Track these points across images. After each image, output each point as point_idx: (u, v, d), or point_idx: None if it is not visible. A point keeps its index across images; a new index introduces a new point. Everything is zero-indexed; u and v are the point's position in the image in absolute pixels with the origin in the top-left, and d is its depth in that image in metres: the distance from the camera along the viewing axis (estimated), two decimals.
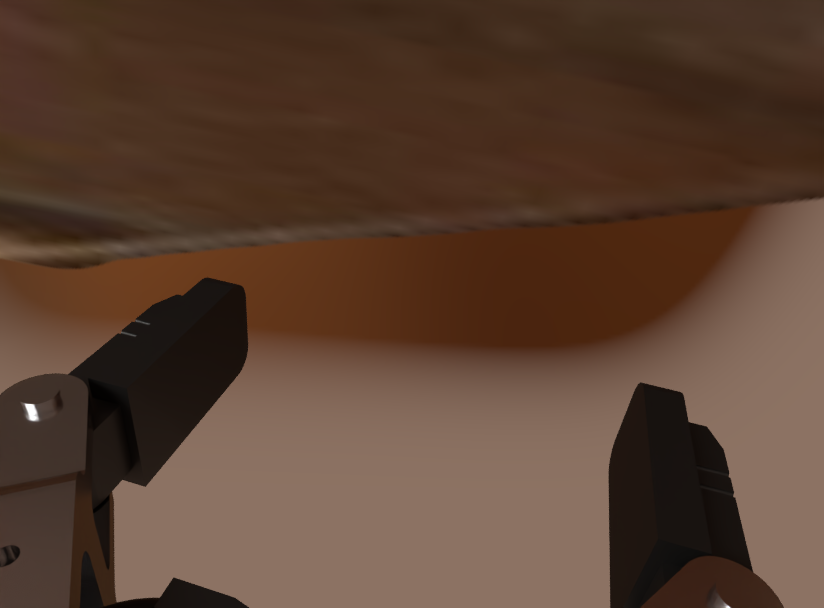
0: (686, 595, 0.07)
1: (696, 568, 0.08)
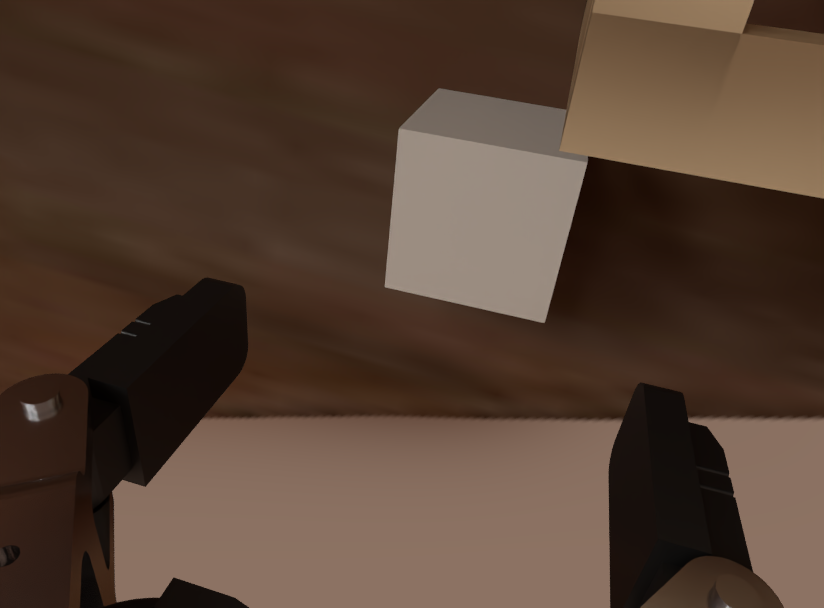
0: (686, 595, 0.07)
1: (696, 568, 0.08)
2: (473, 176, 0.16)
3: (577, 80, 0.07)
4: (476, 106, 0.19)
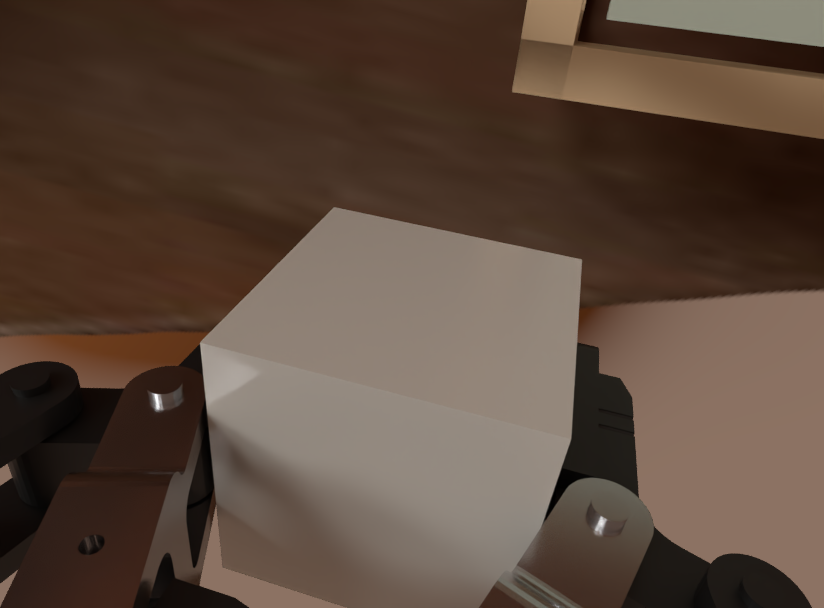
0: (565, 508, 0.08)
1: (573, 492, 0.08)
2: (350, 434, 0.08)
3: (517, 63, 0.19)
4: (383, 255, 0.11)
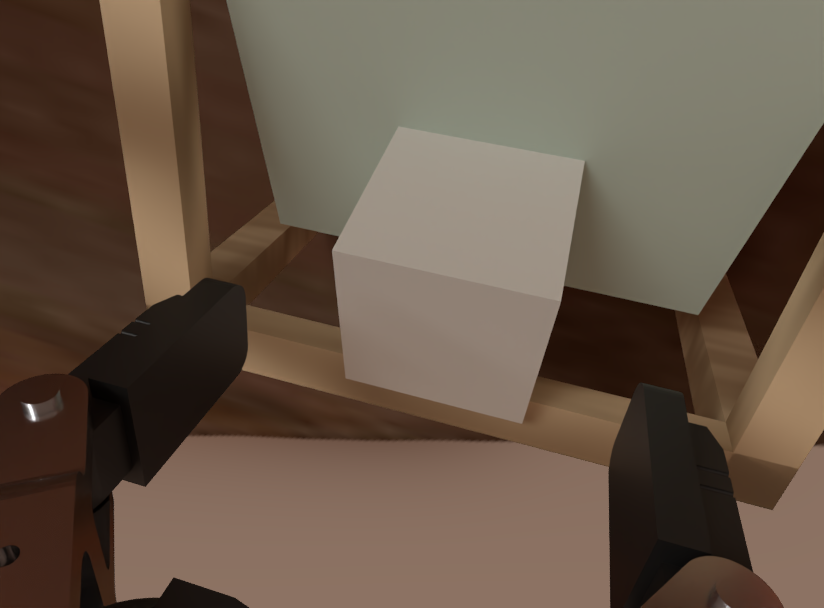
0: (686, 595, 0.07)
1: (696, 568, 0.08)
2: (427, 300, 0.14)
3: None
4: (439, 170, 0.15)
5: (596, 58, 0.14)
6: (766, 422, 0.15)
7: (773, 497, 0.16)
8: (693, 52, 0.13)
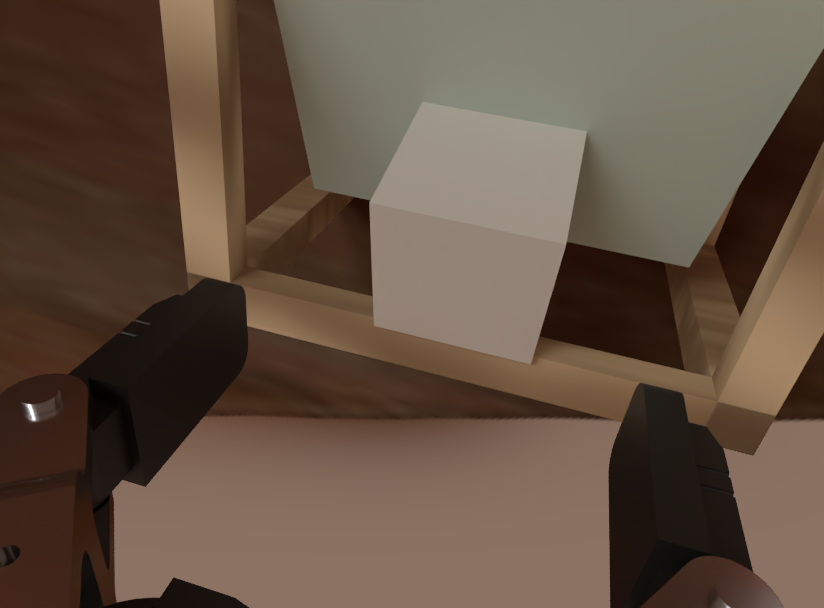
0: (686, 595, 0.07)
1: (696, 567, 0.08)
2: (450, 247, 0.16)
3: None
4: (459, 138, 0.17)
5: (596, 43, 0.16)
6: (746, 372, 0.17)
7: (754, 443, 0.18)
8: (680, 37, 0.15)
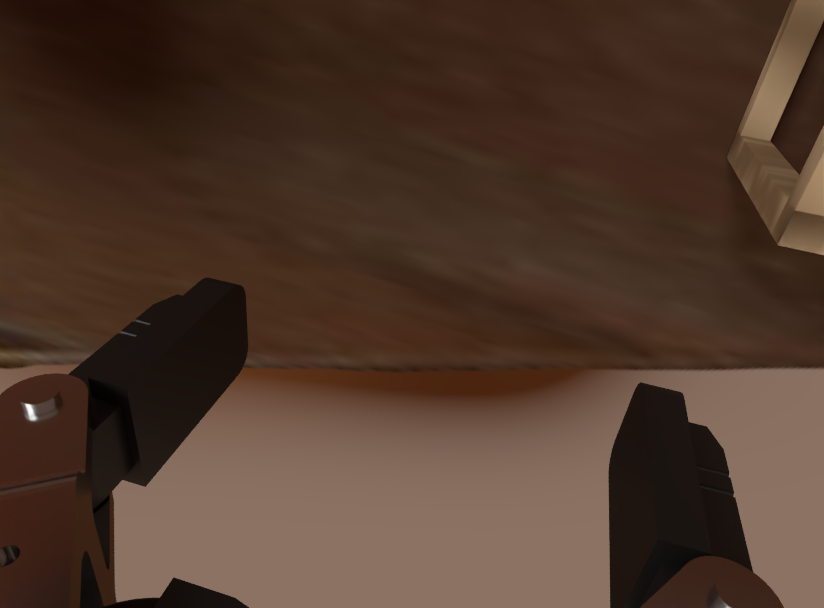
0: (686, 595, 0.07)
1: (696, 568, 0.08)
2: None
3: (787, 226, 0.25)
4: None
5: None
6: None
7: None
8: None
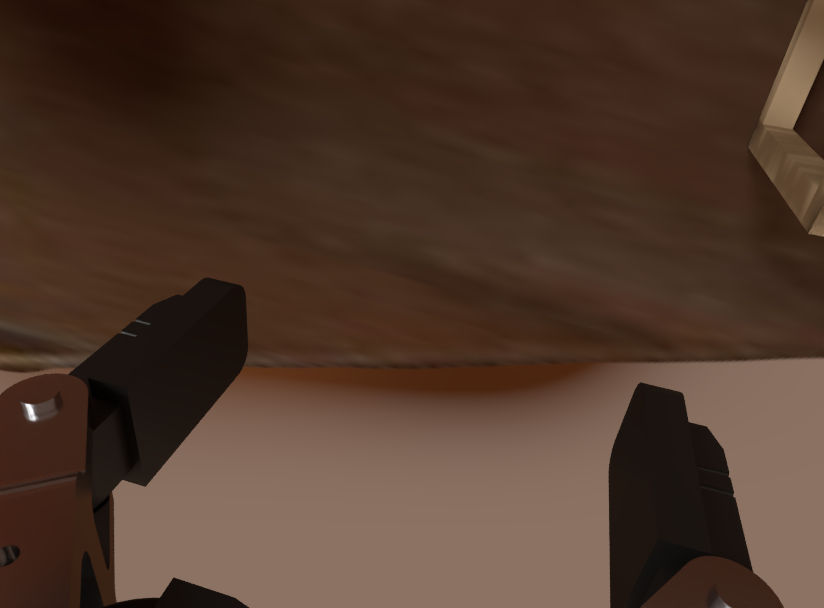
0: (686, 595, 0.07)
1: (695, 567, 0.08)
2: None
3: (818, 215, 0.25)
4: None
5: None
6: None
7: None
8: None
